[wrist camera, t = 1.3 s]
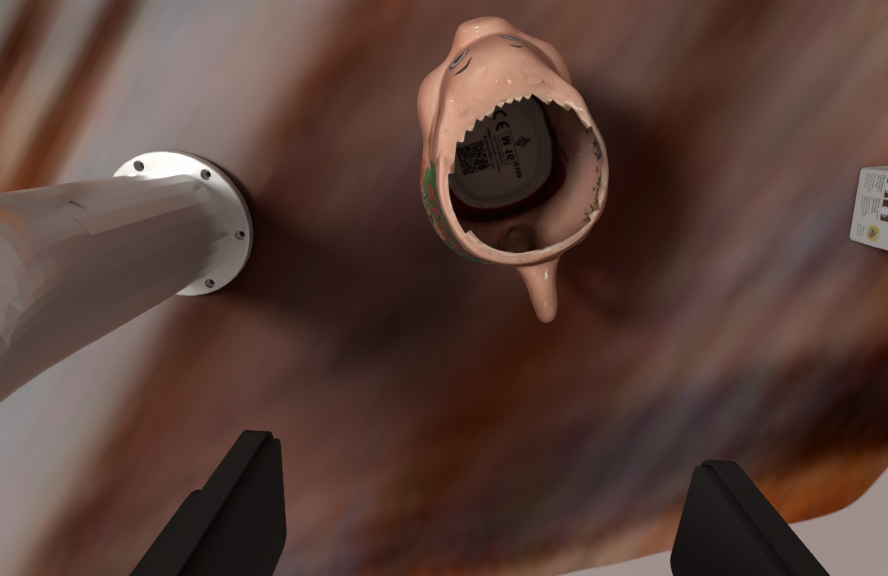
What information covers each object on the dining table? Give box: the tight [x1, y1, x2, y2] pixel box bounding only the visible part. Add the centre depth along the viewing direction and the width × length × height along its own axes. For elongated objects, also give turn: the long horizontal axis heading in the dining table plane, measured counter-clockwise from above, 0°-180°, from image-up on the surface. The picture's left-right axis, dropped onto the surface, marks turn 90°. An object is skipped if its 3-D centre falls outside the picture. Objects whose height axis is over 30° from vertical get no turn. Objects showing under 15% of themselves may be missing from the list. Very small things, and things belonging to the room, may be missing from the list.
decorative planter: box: [417, 16, 609, 323], centre depth 33 cm, size 20×12×14 cm, turn 22°
